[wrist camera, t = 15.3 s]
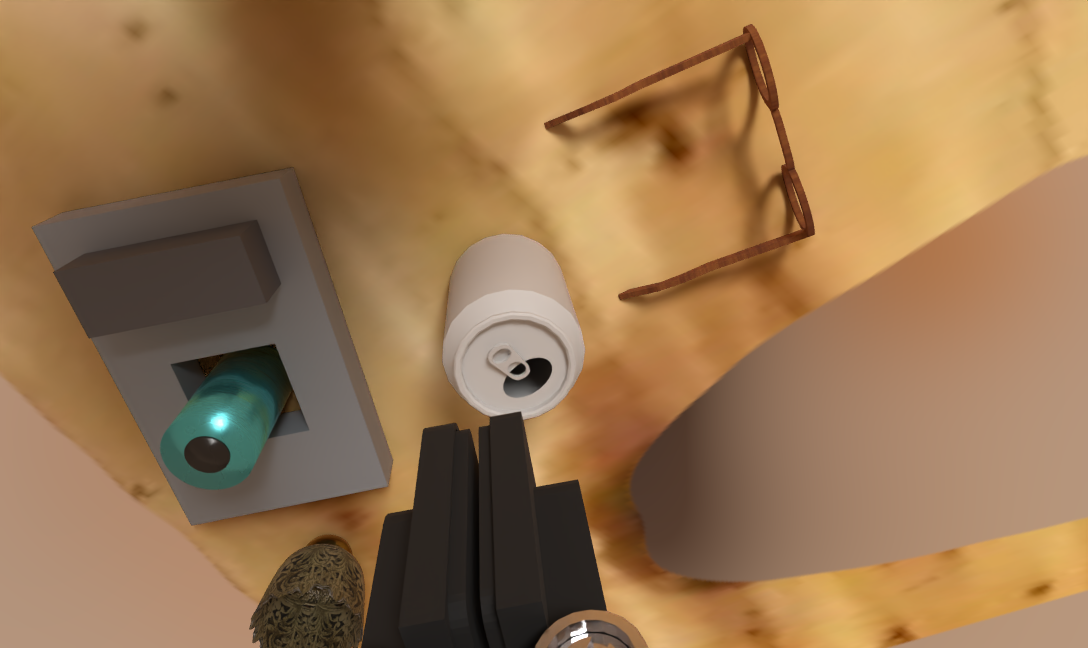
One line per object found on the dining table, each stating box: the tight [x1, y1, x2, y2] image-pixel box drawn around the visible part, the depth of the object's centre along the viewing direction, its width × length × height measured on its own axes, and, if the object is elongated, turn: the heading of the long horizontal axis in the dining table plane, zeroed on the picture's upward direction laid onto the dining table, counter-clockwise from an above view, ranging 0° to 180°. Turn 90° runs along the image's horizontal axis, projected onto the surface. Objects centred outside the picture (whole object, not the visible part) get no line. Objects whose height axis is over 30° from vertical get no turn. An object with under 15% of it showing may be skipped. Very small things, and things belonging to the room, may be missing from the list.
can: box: [442, 234, 585, 420], centre depth 38 cm, size 8×8×12 cm
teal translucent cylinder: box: [160, 345, 293, 490], centre depth 41 cm, size 5×5×9 cm
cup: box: [249, 535, 365, 648], centre depth 48 cm, size 8×7×8 cm
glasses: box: [544, 24, 815, 300], centre depth 40 cm, size 13×13×5 cm
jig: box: [32, 167, 393, 526], centre depth 41 cm, size 22×14×6 cm, turn 10°
